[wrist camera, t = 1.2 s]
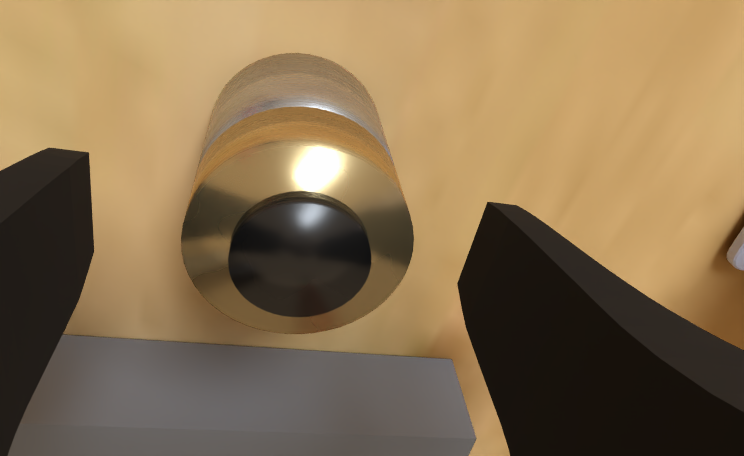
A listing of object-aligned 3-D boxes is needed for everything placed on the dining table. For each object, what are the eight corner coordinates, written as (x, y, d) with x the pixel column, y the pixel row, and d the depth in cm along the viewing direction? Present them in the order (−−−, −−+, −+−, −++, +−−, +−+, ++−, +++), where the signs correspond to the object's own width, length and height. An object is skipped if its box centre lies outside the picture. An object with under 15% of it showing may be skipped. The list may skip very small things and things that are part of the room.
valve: (397, 69, 13) (445, 176, 9) (361, 215, 15) (388, 355, 11) (216, 38, 13) (181, 140, 8) (205, 197, 15) (173, 341, 11)
